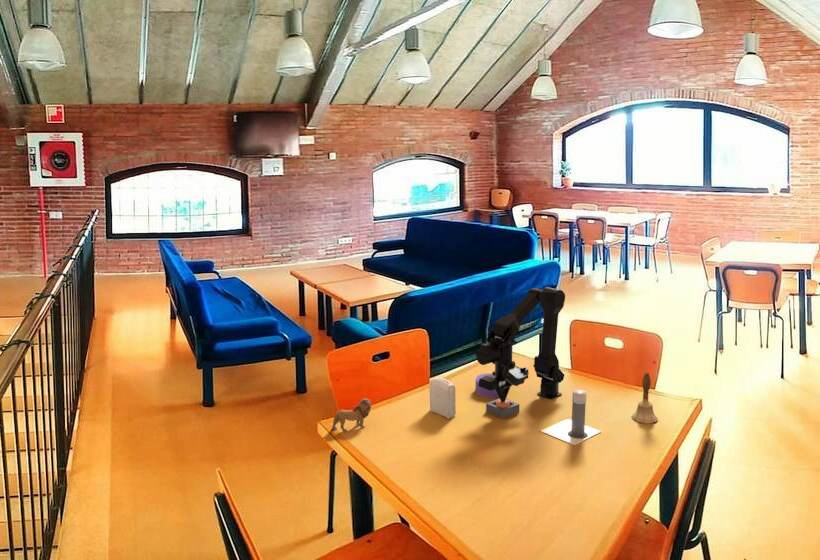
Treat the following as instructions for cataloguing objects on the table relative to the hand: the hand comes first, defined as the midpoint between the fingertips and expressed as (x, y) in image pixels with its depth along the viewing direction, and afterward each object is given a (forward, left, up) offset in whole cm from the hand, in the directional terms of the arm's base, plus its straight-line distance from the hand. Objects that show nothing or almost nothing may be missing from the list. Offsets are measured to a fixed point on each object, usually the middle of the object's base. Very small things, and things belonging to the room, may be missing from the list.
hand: (502, 401), depth 228 cm
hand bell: (-31, +35, -4) cm, 47 cm away
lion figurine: (+46, -24, -4) cm, 52 cm away
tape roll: (-11, -16, -4) cm, 19 cm away
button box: (0, 0, -4) cm, 4 cm away
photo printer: (+16, -13, -4) cm, 21 cm away
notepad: (-4, +25, -4) cm, 26 cm away
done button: (0, 0, -4) cm, 5 cm away
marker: (-4, +28, -3) cm, 28 cm away
